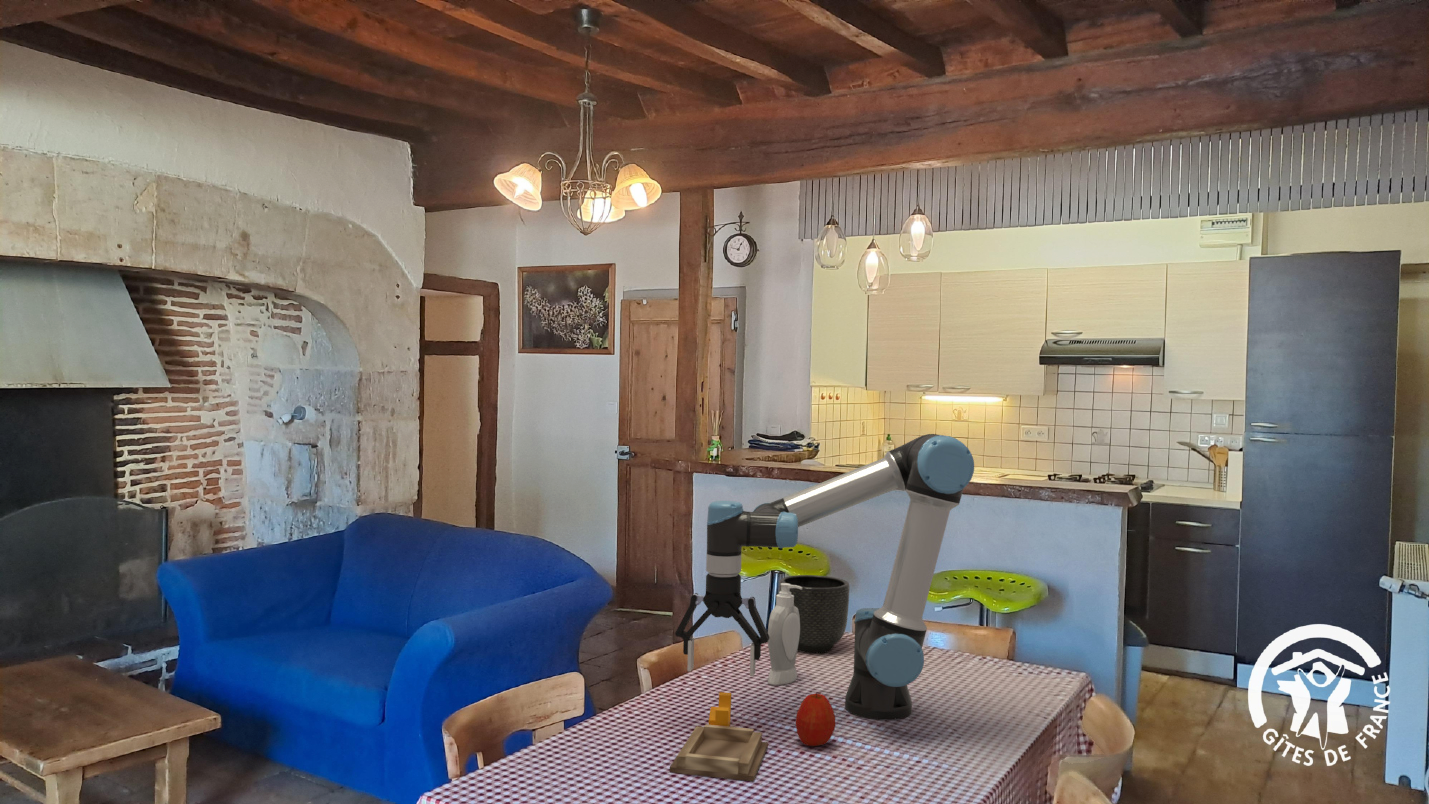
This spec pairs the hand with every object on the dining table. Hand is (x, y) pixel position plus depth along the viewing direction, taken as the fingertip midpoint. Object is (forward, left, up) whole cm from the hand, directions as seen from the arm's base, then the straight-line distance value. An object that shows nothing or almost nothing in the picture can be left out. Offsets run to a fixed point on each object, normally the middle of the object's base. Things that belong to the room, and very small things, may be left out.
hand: (721, 672), depth 209 cm
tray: (-4, +19, -11) cm, 22 cm away
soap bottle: (-10, -35, -12) cm, 39 cm away
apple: (-21, +6, -12) cm, 25 cm away
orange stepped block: (0, +3, -12) cm, 12 cm away
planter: (-13, -69, -12) cm, 72 cm away
